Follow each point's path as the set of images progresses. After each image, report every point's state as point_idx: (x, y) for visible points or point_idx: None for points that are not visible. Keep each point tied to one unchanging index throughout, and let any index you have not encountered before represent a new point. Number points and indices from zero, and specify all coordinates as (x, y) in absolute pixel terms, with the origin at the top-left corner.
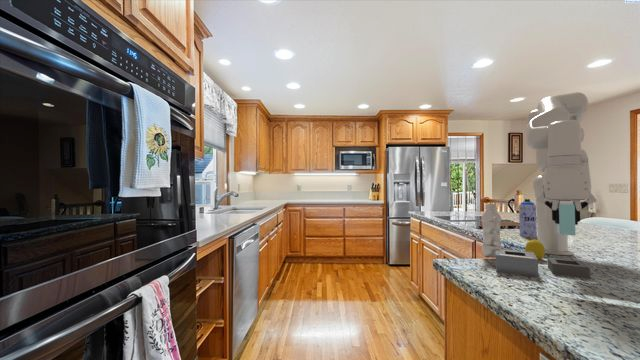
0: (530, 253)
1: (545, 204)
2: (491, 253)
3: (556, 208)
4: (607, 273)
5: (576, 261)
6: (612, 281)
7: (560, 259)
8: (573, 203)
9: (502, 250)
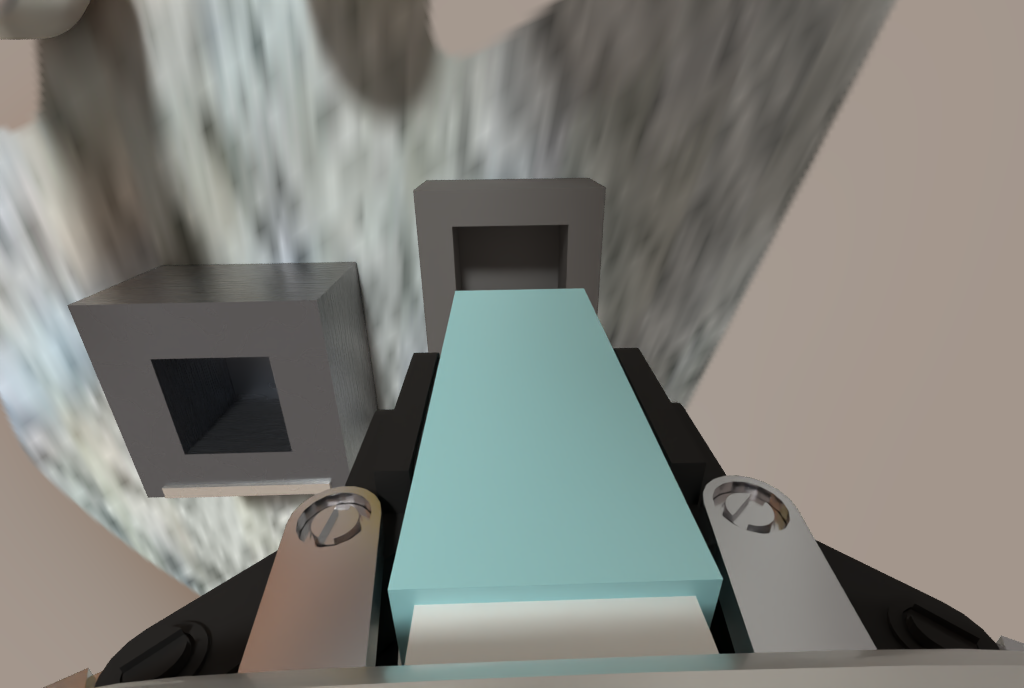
0: (305, 354)
1: (167, 637)
2: (15, 37)
3: (395, 644)
4: (747, 49)
5: (570, 222)
6: (687, 253)
7: (485, 211)
8: (733, 640)
9: (131, 347)
